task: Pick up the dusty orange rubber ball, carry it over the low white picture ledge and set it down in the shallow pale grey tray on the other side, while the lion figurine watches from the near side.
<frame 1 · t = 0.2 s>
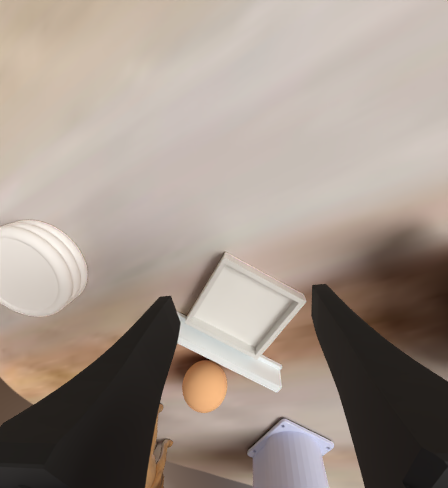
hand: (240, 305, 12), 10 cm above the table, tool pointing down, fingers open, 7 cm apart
ball: (208, 366, 28), on the table
coaster: (49, 261, 26), on the table
lion figurine: (161, 428, 34), on the table
tray: (242, 305, 24), on the table
white picture ledge: (221, 341, 26), on the table
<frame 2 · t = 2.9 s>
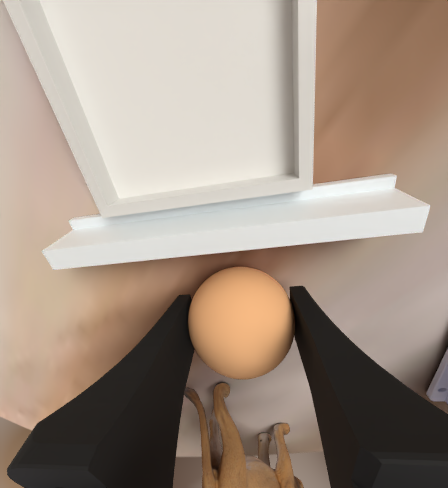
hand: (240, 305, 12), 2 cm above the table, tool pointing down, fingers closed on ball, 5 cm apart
ball: (241, 285, 13), on the table, touching gripper
lion figurine: (258, 413, 21), on the table
tray: (180, 78, 8), on the table
white picture ledge: (219, 217, 11), on the table
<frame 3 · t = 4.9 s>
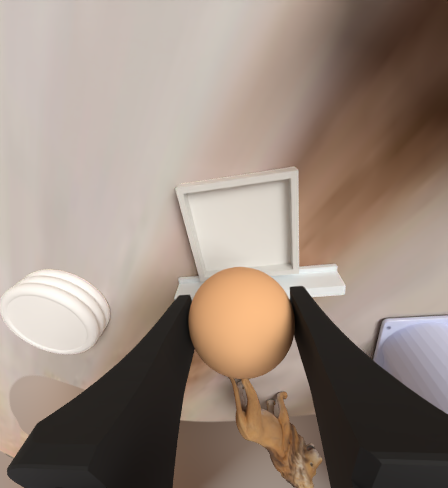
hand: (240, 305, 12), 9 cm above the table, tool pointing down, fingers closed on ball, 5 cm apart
ball: (240, 285, 13), point 8 cm above the table, touching gripper
coaster: (70, 300, 27), on the table
lion figurine: (266, 386, 32), on the table
tray: (242, 227, 20), on the table
white picture ledge: (254, 279, 22), on the table
when the fingers open (3 cm above the table, at t = 7.0 s): ball stays where it is, resting on tray.
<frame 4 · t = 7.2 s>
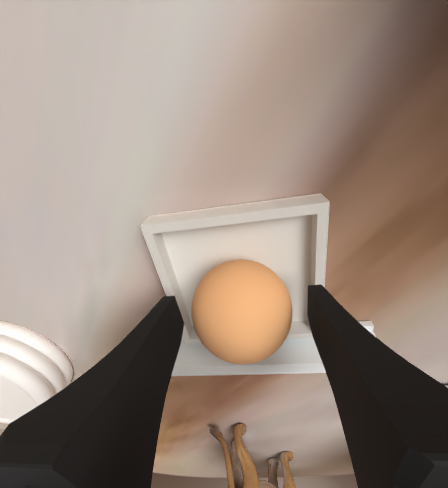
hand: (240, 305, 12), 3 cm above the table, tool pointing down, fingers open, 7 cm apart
ball: (240, 278, 14), resting on tray
coaster: (22, 352, 21), on the table
lion figurine: (267, 444, 26), on the table
tray: (241, 274, 14), on the table
white picture ledge: (258, 336, 17), on the table
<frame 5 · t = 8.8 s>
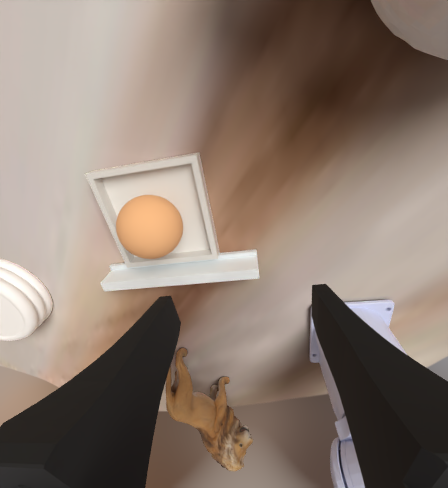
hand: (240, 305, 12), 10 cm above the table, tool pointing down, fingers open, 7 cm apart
ball: (160, 215, 20), resting on tray
coaster: (14, 288, 27), on the table
lion figurine: (209, 370, 32), on the table
tray: (161, 213, 20), on the table
white picture ledge: (182, 265, 23), on the table
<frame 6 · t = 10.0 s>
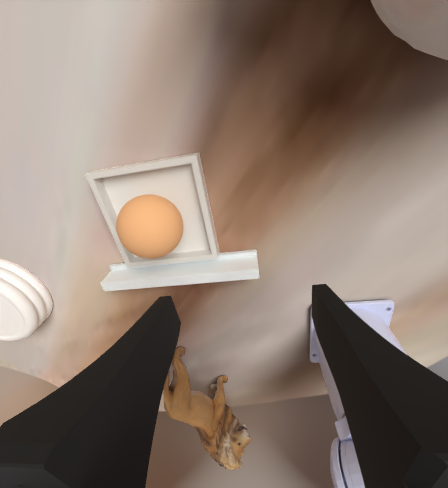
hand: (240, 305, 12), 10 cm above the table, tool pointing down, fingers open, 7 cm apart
ball: (160, 215, 20), resting on tray
coaster: (14, 288, 27), on the table
lion figurine: (207, 369, 32), on the table
tray: (161, 213, 20), on the table
white picture ledge: (182, 265, 23), on the table
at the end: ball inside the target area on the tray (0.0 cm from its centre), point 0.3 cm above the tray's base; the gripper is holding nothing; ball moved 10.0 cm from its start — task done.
